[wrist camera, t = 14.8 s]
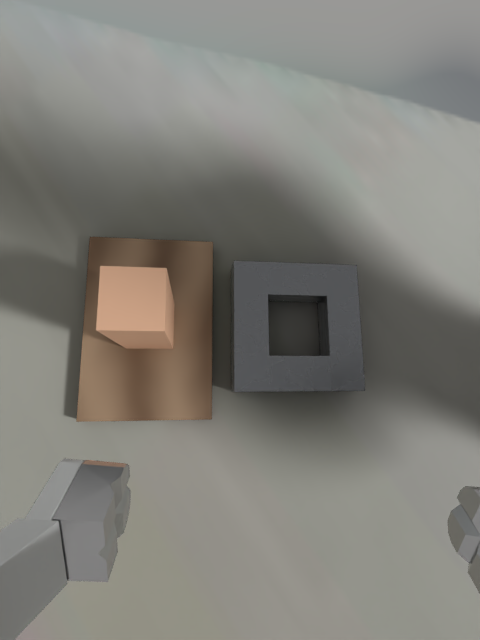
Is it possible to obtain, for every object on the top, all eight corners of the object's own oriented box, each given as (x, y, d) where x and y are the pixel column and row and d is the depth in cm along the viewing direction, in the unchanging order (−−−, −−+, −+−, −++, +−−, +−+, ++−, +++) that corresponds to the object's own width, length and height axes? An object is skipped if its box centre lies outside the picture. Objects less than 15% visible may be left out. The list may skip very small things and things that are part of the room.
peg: (174, 304, 33) (166, 267, 23) (173, 348, 32) (164, 331, 22) (128, 303, 32) (100, 265, 23) (125, 348, 32) (95, 330, 22)
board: (212, 246, 35) (212, 241, 34) (211, 418, 32) (211, 419, 31) (92, 241, 34) (89, 236, 33) (80, 420, 31) (76, 421, 30)
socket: (345, 273, 37) (356, 265, 34) (352, 390, 34) (365, 390, 32) (231, 269, 35) (234, 260, 33) (231, 391, 33) (234, 391, 31)
